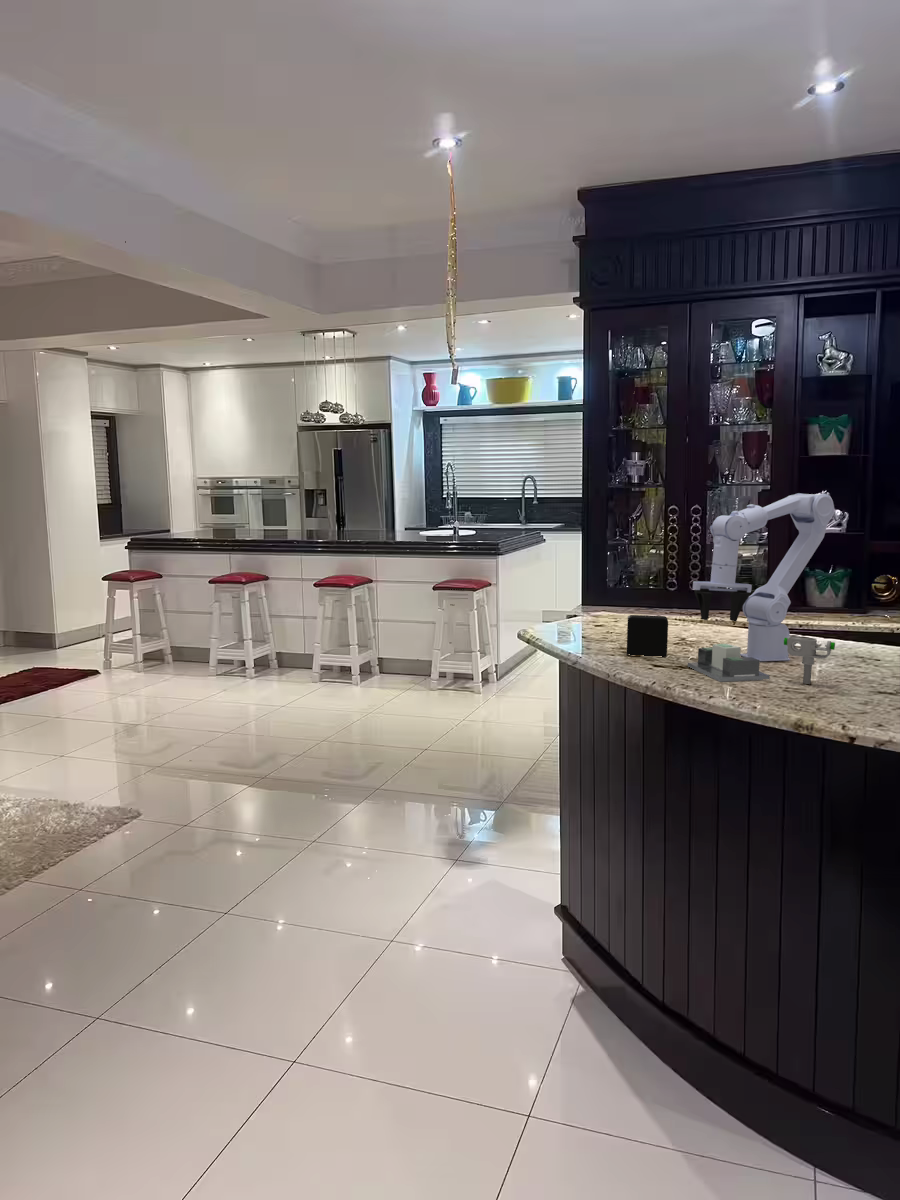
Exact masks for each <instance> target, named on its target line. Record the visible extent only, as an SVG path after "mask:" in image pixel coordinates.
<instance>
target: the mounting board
mask: <svg viewBox="0 0 900 1200" xmlns="http://www.w3.org/2000/svg"><path fill="white" fill-rule="evenodd" d="M712 647H713V646H712ZM712 647H710V646H709V647H698V650H697V651H698V652H697V661H694V662H687V668H689V667H690V669H691V668H692V670H693V669H694V670H693V671H696V672H698V673H700V674H702V673H703V674H702V675H704V674H705V675H704V676H706V675H707V676H706V677H709V678H711V679H712V680H715V681H718V682H719V683H721V682H722V683H723V682H747V681H748V682H749V681H750V680H751V681H764V680H763V679H769V680H770V679H771V678H770V676H771V675H769V674H767V673H765V672H763V671H760V663H761V661H760V660H758V659H755V658H752V657H743V656H741V657H740V658H738V657H730V658H723V669H721V668H718V667H715V666H712Z"/></svg>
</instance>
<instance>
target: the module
mask: <svg viewBox="0 0 900 1200" xmlns="http://www.w3.org/2000/svg"><path fill="white" fill-rule="evenodd" d="M741 649H742V648H741V646H737V645H733V644H730V643H717V644H716V643H715V644H712V666H715V667H718V668H721V669H723V658H730V657H738V658H741V656H740V654H741V652H742V651H741Z"/></svg>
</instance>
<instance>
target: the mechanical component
mask: <svg viewBox="0 0 900 1200" xmlns="http://www.w3.org/2000/svg"><path fill="white" fill-rule="evenodd" d="M797 644H799V645H800V648H797V647H796V645H797ZM784 645H787V646H788V649H787V651H788V653H789V655H790V656H793V657H794V656H795V657H801V658H802V661H801V664H802V665H803V675H802V676H803V677H802V679H803V680H802V683H805V684H804V685H806V684H809V685H810V684H811V683H812V682H811V681H812V668H813V665H815V659H823V660H824V659H826V658H828V657H830V655H831V653H832V650H833V651H835V648H836V642H833V641H832V640H827V642H826V644H824V647H823V646H819V645H820V644H819V643H818V641H817V639H816V638H813V637H812V638H810V637H801V636H790V637H788V638H784ZM817 651H823V652H826V653H827V654H818V653H817Z"/></svg>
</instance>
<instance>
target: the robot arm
mask: <svg viewBox="0 0 900 1200" xmlns="http://www.w3.org/2000/svg"><path fill="white" fill-rule="evenodd" d="M835 513H836V511H835V504H834V501H833V499H832V497H831V496H830V495H829V494H827V493H821V494H817V493H816V494H815V493H814V494H813V493H811V494H809V493H800V492H798V493H795V494H791V495H788V496H786V497H784V498H782V499H779V500H777V501H774V502H772V503H771V504H768V505H766V506H763V507H762V506H760V505H759V504H758V505H756V504H752V503H751V504H750V503H749V504H748V505H746V508H743V509H742V510H741V509H740V510H733V511H731V513H730V514H729V515H725V514H724V515H720V516H719V515H718V516H717V517H716V518H715V519H714V520H713V522H712V524H711V525H710V527H709V528H710V529H709V530H710V532H711V533H710V534H711V535H712V537H713V538H712V539H713V541H712V542H713V552H712V553H713V554H712V561H711V563H712V564H711V574H710V581H696V580H695V581H693V582H692V590H694V595H695V597H696V600H697V602H698V606H699V611H700V617H701V620H702V621H709V615H710V605H711V603H712V598H713V596H714V593H712V592H711V591H716V592H718V591H719V592H729V595H730V596H729V598H730V611H729V621H732V622H737V621H738V619H739V615H740V613H741V610H742V613H743V615H744V617H746V622H748V627H747V628H748V629H747V630H748V631H747V646H746V649H747V650H746V653H740V657H752V658H755V659H758V660H760V662H778V661H779V662H781V661H782V662H783V661H791V658H789V655H790V654H789V653H788V651H787V649H788V646H787V645H784V638H788V637H791V636H790V635H791V634H790V630H789V628H788V626H787V625H786V624H785V623H782V622H783V621H785V619H786V618H787V617H786V616H787V614H788V609H789V607H790V605H791V603H792V601H791V600H790V597H789V595H788V594H789V592H790V590H791V589H793V588H792V587H793V586H794V585H795V583H796V581H797V580H798V578H799V577H800V576H801V574H802V572H803V570H804V569H805V568H806V566H807V564H808V563H809V562H810V559H812V557H813V555H814V553H815V552H816V551H817V549H818V547H819V546H820V545H821V542H822V541H823V539H824V538H825V534H826V533H827V527H828V524H829V522H830V521H831V520H832V518H833V516H834V515H835ZM785 515H790V517H791V519H792V522H793V523H794V526H795V528H796V529H797V530H798V535H797V537H796V538H795V539H794V541H793V543H792V545H791V546H790V548H789V549H788V550H787V551H786V553H785V555H784V557H783V558H782V560H781V561H780V562H779V564H778V565H777V567H776V569H775V570H774V572H773V573H772V575H771V577H770V578H769V579H768V581H767V583H766V584H764V585H761V586H760V587H758V588H756V589H755V590H754V592H752V588H753V587H752V584H749V583H739V582H736V579H737V577H736V575H737V567H738V556H739V548H740V545H739V544H740V540H742V539H743V537H745V535H746V534H749V533H752V532H753V531H756V530H759V529H762V528H764V527H765V526H766V525H767V523H768V521H769V520H772V519H776V518H780V517H783V516H785ZM751 592H752V594H751V595H750V593H751Z"/></svg>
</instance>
